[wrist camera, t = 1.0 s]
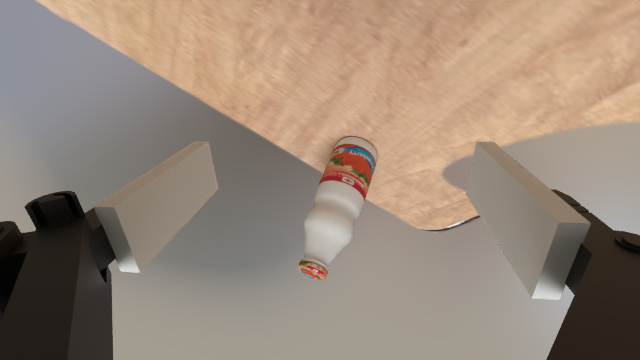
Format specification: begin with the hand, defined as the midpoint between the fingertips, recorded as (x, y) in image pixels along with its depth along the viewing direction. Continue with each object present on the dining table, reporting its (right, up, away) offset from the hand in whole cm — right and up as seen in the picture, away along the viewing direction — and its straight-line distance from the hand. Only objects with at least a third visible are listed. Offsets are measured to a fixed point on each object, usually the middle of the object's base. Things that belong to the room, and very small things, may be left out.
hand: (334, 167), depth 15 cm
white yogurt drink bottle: (+7, +6, +50) cm, 51 cm away
